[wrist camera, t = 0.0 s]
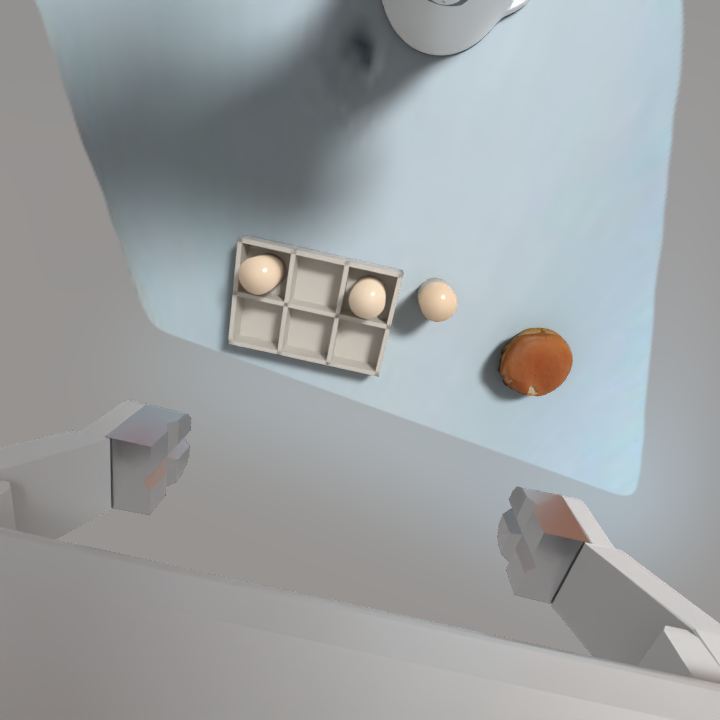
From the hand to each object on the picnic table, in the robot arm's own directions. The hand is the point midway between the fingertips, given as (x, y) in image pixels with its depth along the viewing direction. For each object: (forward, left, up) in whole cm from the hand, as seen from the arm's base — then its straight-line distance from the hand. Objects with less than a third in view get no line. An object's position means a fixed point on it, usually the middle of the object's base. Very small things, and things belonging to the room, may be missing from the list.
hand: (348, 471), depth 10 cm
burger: (+9, +24, -48) cm, 55 cm away
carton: (+8, -8, -48) cm, 49 cm away
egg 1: (+5, -15, -47) cm, 50 cm away
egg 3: (+3, +8, -48) cm, 49 cm away
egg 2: (+5, -1, -47) cm, 48 cm away
